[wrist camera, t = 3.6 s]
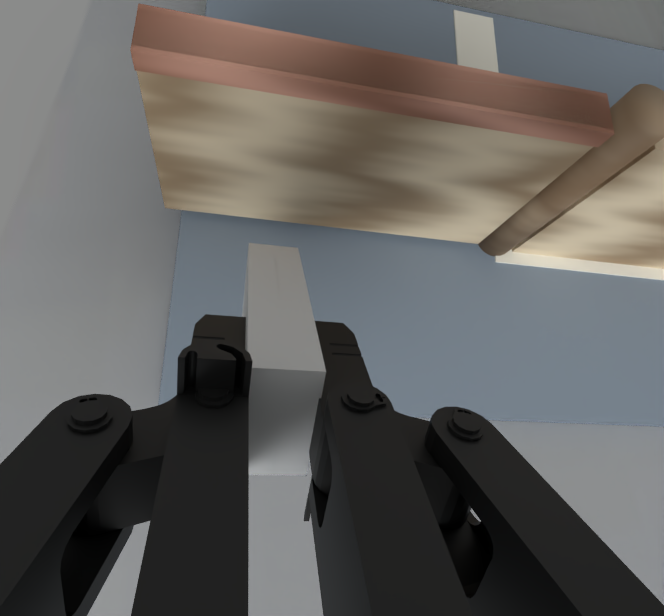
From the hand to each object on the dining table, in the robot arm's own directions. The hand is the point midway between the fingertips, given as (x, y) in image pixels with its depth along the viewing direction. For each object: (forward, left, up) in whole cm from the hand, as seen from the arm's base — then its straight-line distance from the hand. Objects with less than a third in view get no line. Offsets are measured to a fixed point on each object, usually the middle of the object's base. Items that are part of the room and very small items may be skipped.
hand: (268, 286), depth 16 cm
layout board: (-11, -8, -6) cm, 15 cm away
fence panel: (-3, -5, -5) cm, 8 cm away
